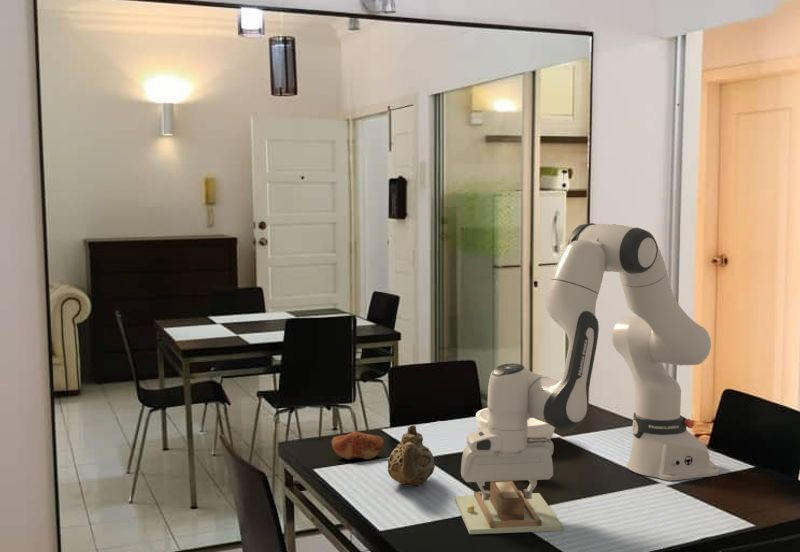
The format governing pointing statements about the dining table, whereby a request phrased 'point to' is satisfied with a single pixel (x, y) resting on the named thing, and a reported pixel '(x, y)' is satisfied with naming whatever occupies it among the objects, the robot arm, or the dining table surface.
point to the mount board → (486, 520)
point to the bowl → (534, 425)
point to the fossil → (357, 445)
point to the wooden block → (507, 500)
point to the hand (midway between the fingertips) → (506, 499)
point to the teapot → (411, 460)
